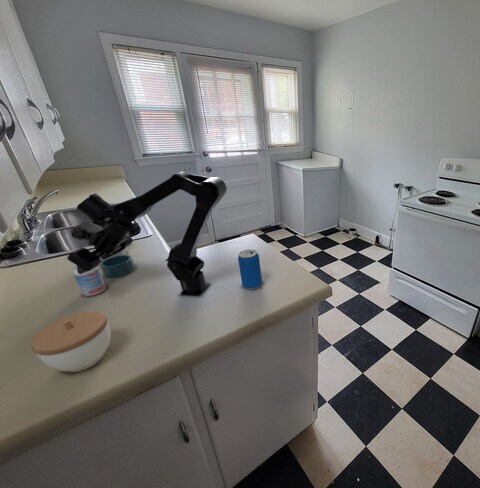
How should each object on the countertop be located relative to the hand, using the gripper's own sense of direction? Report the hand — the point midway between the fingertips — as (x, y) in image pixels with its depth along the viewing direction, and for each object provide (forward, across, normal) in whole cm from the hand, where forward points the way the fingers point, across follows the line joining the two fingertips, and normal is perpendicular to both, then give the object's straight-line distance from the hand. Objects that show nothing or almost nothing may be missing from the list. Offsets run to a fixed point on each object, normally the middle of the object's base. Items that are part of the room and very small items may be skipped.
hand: (91, 265), depth 85 cm
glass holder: (+16, -24, -2) cm, 29 cm away
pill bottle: (+9, 0, +5) cm, 10 cm away
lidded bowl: (-6, +28, +19) cm, 35 cm away
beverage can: (-28, -2, +41) cm, 50 cm away
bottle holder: (+9, -13, +4) cm, 17 cm away
